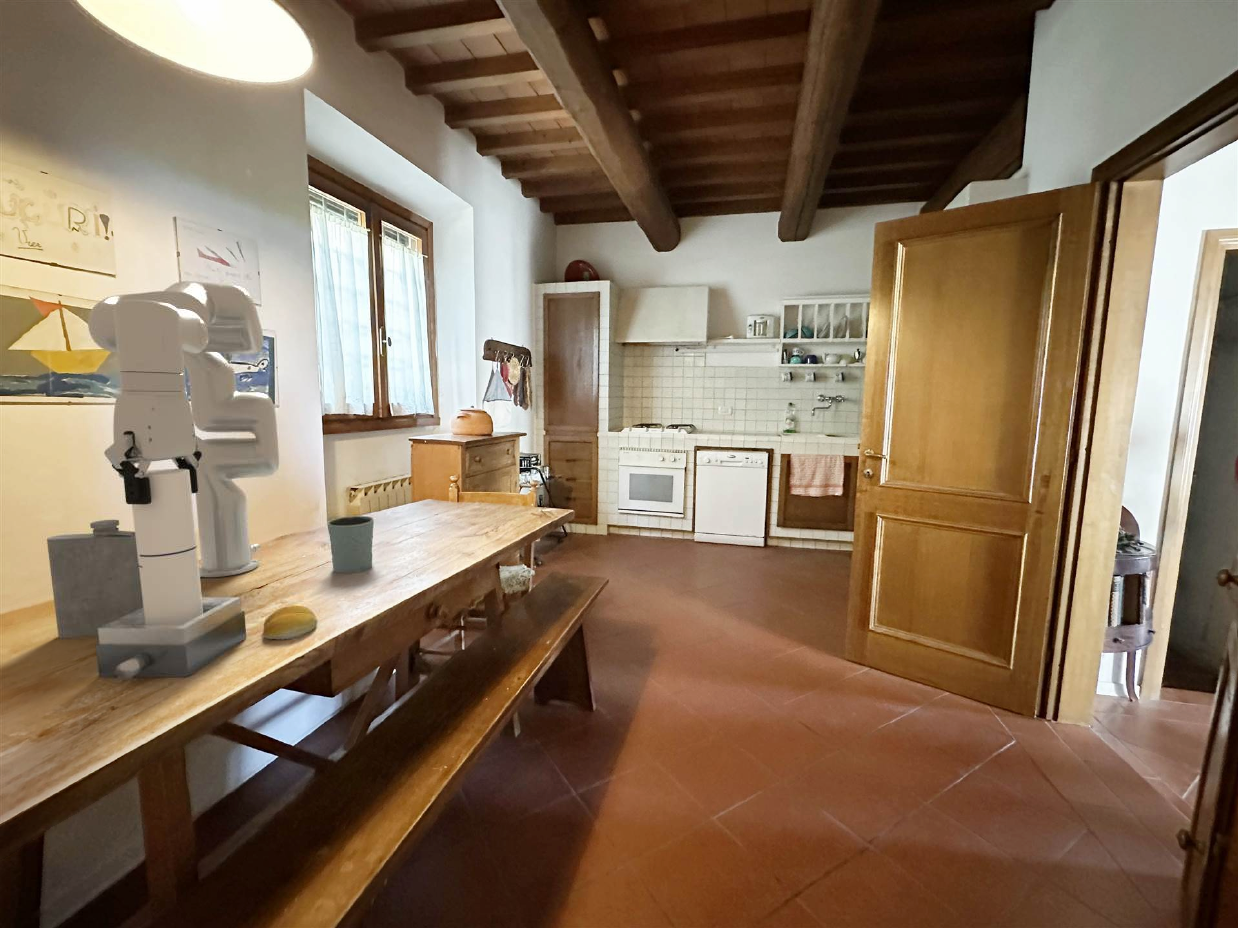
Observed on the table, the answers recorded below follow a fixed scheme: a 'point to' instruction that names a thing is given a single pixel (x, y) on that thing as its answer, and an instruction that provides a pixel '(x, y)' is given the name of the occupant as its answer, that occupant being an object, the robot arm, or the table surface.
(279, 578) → the table surface
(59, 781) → the table surface
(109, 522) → the hip flask
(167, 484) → the cylindrical container
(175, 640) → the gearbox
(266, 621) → the bread roll
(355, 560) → the green cup
